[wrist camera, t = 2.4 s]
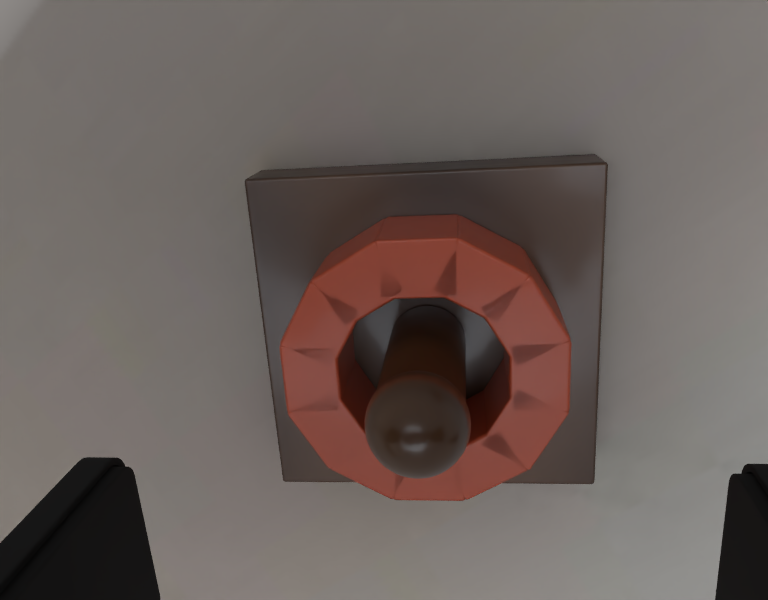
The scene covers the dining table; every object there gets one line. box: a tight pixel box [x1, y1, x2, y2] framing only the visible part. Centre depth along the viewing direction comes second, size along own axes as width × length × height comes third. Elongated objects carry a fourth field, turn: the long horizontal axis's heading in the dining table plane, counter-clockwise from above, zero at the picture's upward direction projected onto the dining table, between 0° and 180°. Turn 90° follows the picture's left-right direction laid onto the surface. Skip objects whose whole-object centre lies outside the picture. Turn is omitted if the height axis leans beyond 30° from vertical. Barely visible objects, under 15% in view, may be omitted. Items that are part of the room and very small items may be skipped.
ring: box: [279, 214, 572, 501], centre depth 17 cm, size 7×7×2 cm
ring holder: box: [245, 154, 608, 484], centre depth 17 cm, size 9×9×7 cm
